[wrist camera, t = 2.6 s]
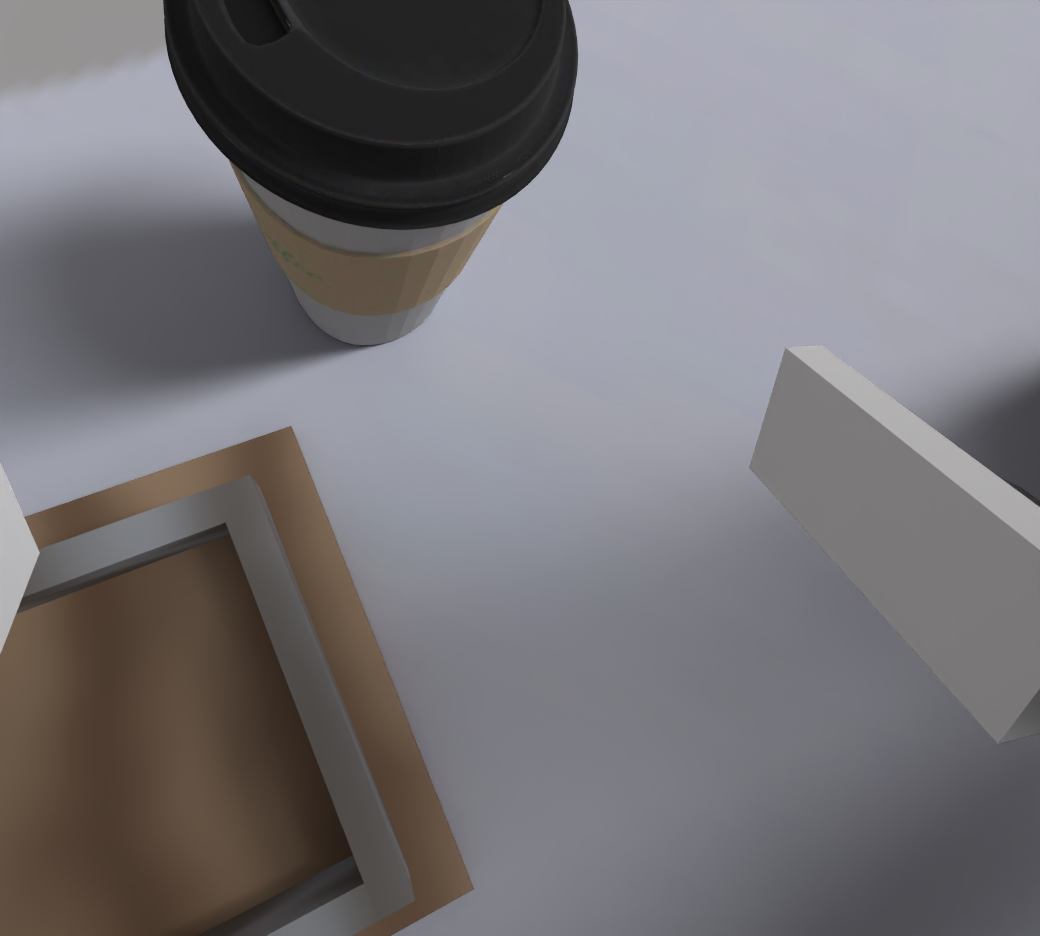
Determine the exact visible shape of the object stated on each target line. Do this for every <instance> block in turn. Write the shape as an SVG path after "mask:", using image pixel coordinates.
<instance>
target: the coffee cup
mask: <svg viewBox="0 0 1040 936" xmlns="http://www.w3.org/2000/svg"><path fill="white" fill-rule="evenodd" d="M163 1H164V2H163V4H164V16H165V19H164V22H165V39H166V45H167V51H168V57H169V60H170V64H171V68H172V71H173V74H174V77H175V80H176V82H177V85H178V88H179V90H180V92H181V94H182V96H183V98H184V100H185V102H186V104H187V106H188V108H189V110H190V111H191V113H192V114H193V116H194V118H195V119H196V121H197V123H198V124H199V125H200V127H201V128H202V129H203V131H204V132H205V133H206V135H207V136H208V137H209V139H210V140H211V141H212V142H213V143H214V144H215V146H216V147H217V148H218V149H219V150H220V151H221V152H222V153H223V154H224V155H225V156H226V157H227V158H228V159H229V161H230V163H231V166H232V168H233V170H234V172H235V175H236V177H237V179H238V181H239V183H240V185H241V188H242V190H243V192H244V194H245V196H246V198H247V201H248V203H249V205H250V207H251V209H252V211H253V214H254V216H255V218H256V220H257V222H258V224H259V227H260V229H261V231H262V233H263V235H264V237H265V239H266V242H267V244H268V246H269V248H270V250H271V252H272V254H273V256H274V257H275V259H276V261H277V262H278V264H279V265H280V267H281V269H282V270H283V271H284V273H285V274H286V275H287V277H288V279H289V281H290V283H291V286H292V288H293V290H294V292H295V294H296V297H297V299H298V301H299V303H300V304H301V306H302V307H303V309H304V311H305V312H306V314H307V315H308V316H309V318H310V319H311V320H312V321H313V322H314V323H315V324H316V326H318V327H319V328H320V329H321V330H323V331H324V332H325V333H327V334H328V335H330V336H332V337H334V338H336V339H338V340H340V341H342V342H346V343H350V344H354V345H375V344H383V343H386V342H390V341H393V340H396V339H399V338H401V337H402V336H404V335H406V334H408V333H410V332H412V331H413V330H414V329H415V328H417V327H418V326H419V325H421V324H422V323H423V321H424V320H425V319H426V318H427V317H428V316H429V314H430V313H431V312H432V310H433V308H434V307H435V305H436V303H437V302H438V300H439V299H440V297H441V295H442V294H443V292H444V290H445V289H446V288H447V287H448V286H449V285H450V284H451V283H452V282H453V281H454V279H455V278H456V277H457V276H458V275H459V274H460V272H461V271H462V269H463V268H464V266H465V264H466V263H467V261H468V259H469V258H470V256H471V255H472V253H473V251H474V250H475V248H476V246H477V245H478V243H479V242H480V240H481V238H482V237H483V235H484V233H485V232H486V230H487V229H488V227H489V225H490V224H491V222H492V220H493V219H494V217H495V216H496V214H497V212H498V211H499V209H500V207H501V206H502V204H503V203H504V202H506V201H507V200H508V199H510V198H511V197H513V196H514V195H516V194H517V193H518V192H519V191H521V190H522V189H523V188H524V187H526V186H527V185H528V184H529V183H530V182H531V181H532V180H533V179H534V178H535V177H536V176H537V175H538V174H539V173H540V171H541V170H542V169H543V168H544V166H545V165H546V164H547V162H548V161H549V160H550V158H551V156H552V155H553V153H554V152H555V150H556V148H557V146H558V144H559V142H560V140H561V138H562V136H563V134H564V131H565V128H566V126H567V123H568V120H569V116H570V112H571V108H572V101H573V94H574V88H575V83H576V77H577V67H578V46H577V36H576V29H575V23H574V19H573V15H572V11H571V7H570V4H569V1H568V0H163Z"/></svg>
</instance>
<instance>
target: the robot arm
mask: <svg viewBox="0 0 1040 936" xmlns="http://www.w3.org/2000/svg"><path fill="white" fill-rule="evenodd" d="M749 468H750V469H751V470H752V471H753V472H754V474H755V475H756V476H757V477H758V478H759V479H760V480H761V481H762V482H763V484H764V485H765V486H766V487H767V488H768V489H769V490H770V491H771V492H772V494H773V495H774V496H775V497H776V498H777V499H778V500H779V501H780V502H781V504H782V505H783V506H784V507H785V508H786V509H787V510H788V511H789V512H790V514H791V515H792V516H793V517H794V518H795V519H796V520H797V521H798V522H799V524H800V525H801V526H802V527H803V528H804V529H805V530H806V531H807V532H808V534H809V535H810V536H811V537H812V538H813V539H814V540H815V541H816V542H817V544H818V545H819V546H820V547H821V548H822V549H823V550H824V551H825V552H826V554H827V555H828V556H829V557H830V558H831V559H832V560H833V561H834V562H835V564H836V565H837V566H838V567H839V568H840V569H841V570H842V571H843V572H844V574H845V575H846V576H847V577H848V578H849V579H850V580H851V581H852V582H853V584H854V585H855V586H856V587H857V588H858V589H859V590H860V591H861V592H862V594H863V595H864V596H865V597H866V598H867V599H868V600H869V601H870V602H871V604H872V605H873V606H874V607H875V608H876V609H877V610H878V611H879V612H880V614H881V615H882V616H883V617H884V618H885V619H886V620H887V621H888V622H889V624H890V625H891V626H892V627H893V628H894V629H895V630H896V631H897V632H898V634H899V635H900V636H901V637H902V638H903V639H904V640H905V641H906V642H907V644H908V645H909V646H910V647H911V648H912V649H913V650H914V651H915V652H916V654H917V655H918V656H919V657H920V658H921V659H922V660H923V661H924V662H925V664H926V665H927V666H928V667H929V668H930V669H931V670H932V671H933V672H934V674H935V675H936V676H937V677H938V678H939V679H940V680H941V681H942V682H943V684H944V685H945V686H946V687H947V688H948V689H949V690H950V691H951V692H952V694H953V695H954V696H955V697H956V698H957V699H958V700H959V701H960V702H961V704H962V705H963V706H964V707H965V708H966V709H967V710H968V711H969V712H970V714H971V715H972V716H973V717H974V718H975V719H976V720H977V721H978V722H979V724H980V725H981V726H982V727H983V728H984V729H985V730H986V731H987V732H988V734H989V735H990V736H991V737H992V738H993V739H994V740H995V741H996V742H997V744H1000V743H1004V742H1008V741H1012V740H1016V739H1020V738H1024V737H1028V736H1032V735H1036V734H1040V501H1039V500H1038V499H1036V498H1035V497H1033V496H1032V495H1031V494H1029V493H1028V492H1027V491H1025V490H1024V489H1022V488H1020V487H1018V486H1016V485H1014V484H1012V483H1010V482H1008V481H1006V480H1004V479H1002V478H1000V477H998V476H997V475H996V474H994V473H993V472H992V471H990V470H989V469H987V468H986V467H985V466H983V465H982V464H981V463H979V462H978V461H977V460H975V459H974V458H973V457H971V456H970V455H969V454H967V453H966V452H964V451H963V450H962V449H960V448H959V447H958V446H956V445H955V444H954V443H952V442H951V441H950V440H948V439H947V438H946V437H944V436H943V435H942V434H940V433H939V432H937V431H936V430H935V429H933V428H932V427H931V426H929V425H928V424H927V423H925V422H924V421H923V420H921V419H920V418H919V417H917V416H916V415H915V414H913V413H912V412H910V411H909V410H908V409H906V408H905V407H904V406H902V405H901V404H900V403H898V402H897V401H896V400H894V399H893V398H892V397H890V396H889V395H887V394H886V393H885V392H883V391H882V390H881V389H879V388H878V387H877V386H875V385H874V384H873V383H871V382H870V381H869V380H867V379H866V378H865V377H863V376H862V375H860V374H859V373H858V372H856V371H855V370H854V369H852V368H851V367H850V366H848V365H847V364H846V363H844V362H843V361H842V360H840V359H839V358H837V357H836V356H835V355H833V354H832V353H831V352H829V351H828V350H827V349H825V348H824V347H823V346H821V345H815V346H801V347H787V348H785V351H784V354H783V358H782V361H781V364H780V368H779V371H778V374H777V378H776V381H775V384H774V388H773V391H772V394H771V398H770V401H769V404H768V408H767V411H766V414H765V418H764V421H763V424H762V427H761V431H760V434H759V437H758V441H757V444H756V447H755V451H754V454H753V457H752V461H751V464H750V467H749ZM39 553H40V552H39V550H38V548H37V545H36V543H35V541H34V538H33V536H32V534H31V532H30V529H29V527H28V525H27V522H26V520H25V518H24V516H23V513H22V511H21V509H20V506H19V504H18V502H17V500H16V497H15V495H14V493H13V490H12V488H11V486H10V483H9V481H8V479H7V477H6V474H5V472H4V470H3V467H2V465H1V463H0V654H1V651H2V649H3V646H4V643H5V641H6V638H7V636H8V633H9V631H10V628H11V625H12V623H13V620H14V618H15V615H16V612H17V610H18V607H19V605H20V602H21V600H22V597H23V594H24V592H25V589H26V587H27V584H28V581H29V579H30V576H31V574H32V571H33V569H34V566H35V563H36V561H37V558H38V556H39Z"/></svg>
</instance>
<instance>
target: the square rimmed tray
mask: <svg viewBox="0 0 1040 936" xmlns="http://www.w3.org/2000/svg"><path fill="white" fill-rule="evenodd" d="M24 518H25V520H26V522H27V525H28V527H29V529H30V532H31V534H32V536H33V538H34V541H35V543H36V545H37V548H38V550H39V552H40V553H39V556H38V558H37V561H36V563H35V566H34V569H33V571H32V574H31V576H30V579H29V581H28V584H27V587H26V589H25V592H24V594H23V597H22V600H21V602H20V605H19V607H18V610H17V612H16V615H15V618H14V620H13V623H12V625H11V628H10V631H9V633H8V636H7V638H6V641H5V643H4V646H3V649H2V651H1V654H0V936H391V935H393V934H394V933H396V932H398V931H400V930H402V929H403V928H405V927H407V926H409V925H410V924H412V923H414V922H416V921H418V920H419V919H421V918H423V917H425V916H426V915H428V914H430V913H432V912H434V911H435V910H437V909H439V908H441V907H442V906H444V905H446V904H448V903H450V902H451V901H453V900H455V899H457V898H458V897H460V896H462V895H464V894H466V893H467V892H469V891H471V890H473V889H474V888H473V886H472V883H471V880H470V878H469V875H468V873H467V870H466V868H465V865H464V863H463V860H462V858H461V855H460V853H459V850H458V848H457V845H456V842H455V840H454V837H453V835H452V832H451V830H450V827H449V825H448V822H447V820H446V817H445V815H444V812H443V810H442V807H441V804H440V802H439V799H438V797H437V794H436V792H435V789H434V787H433V784H432V782H431V779H430V777H429V774H428V771H427V769H426V766H425V764H424V761H423V759H422V756H421V754H420V751H419V749H418V746H417V744H416V741H415V739H414V736H413V733H412V731H411V728H410V726H409V723H408V721H407V718H406V716H405V713H404V711H403V708H402V706H401V703H400V700H399V698H398V695H397V693H396V690H395V688H394V685H393V683H392V680H391V678H390V675H389V673H388V670H387V668H386V665H385V662H384V660H383V657H382V655H381V652H380V650H379V647H378V645H377V642H376V640H375V637H374V635H373V632H372V630H371V627H370V624H369V622H368V619H367V617H366V614H365V612H364V609H363V607H362V604H361V602H360V599H359V597H358V594H357V591H356V589H355V586H354V584H353V581H352V579H351V576H350V574H349V571H348V569H347V566H346V564H345V561H344V559H343V556H342V553H341V551H340V548H339V546H338V543H337V541H336V538H335V536H334V533H333V531H332V528H331V526H330V523H329V520H328V518H327V515H326V513H325V510H324V508H323V505H322V503H321V500H320V498H319V495H318V493H317V490H316V488H315V485H314V482H313V480H312V477H311V475H310V472H309V470H308V467H307V465H306V462H305V460H304V457H303V455H302V452H301V450H300V447H299V444H298V442H297V439H296V437H295V434H294V432H293V429H292V427H291V426H290V427H287V428H284V429H281V430H278V431H275V432H272V433H269V434H267V435H264V436H261V437H258V438H255V439H252V440H249V441H246V442H243V443H240V444H237V445H234V446H231V447H229V448H226V449H223V450H220V451H217V452H214V453H211V454H208V455H205V456H202V457H199V458H196V459H193V460H191V461H188V462H185V463H182V464H179V465H176V466H173V467H170V468H167V469H164V470H161V471H158V472H155V473H153V474H150V475H147V476H144V477H141V478H138V479H135V480H132V481H129V482H126V483H123V484H120V485H117V486H115V487H112V488H109V489H106V490H103V491H100V492H97V493H94V494H91V495H88V496H85V497H82V498H79V499H77V500H74V501H71V502H68V503H65V504H62V505H59V506H56V507H53V508H50V509H47V510H44V511H41V512H39V513H36V514H33V515H30V516H27V517H24Z"/></svg>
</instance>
